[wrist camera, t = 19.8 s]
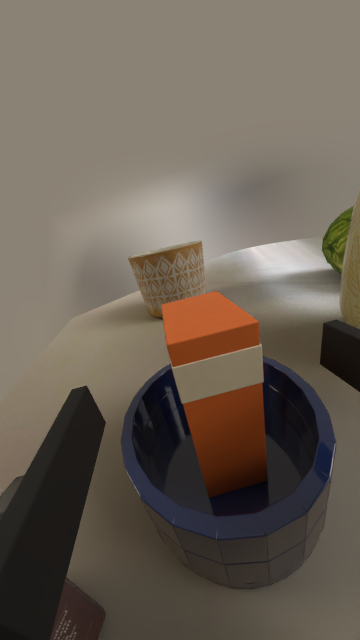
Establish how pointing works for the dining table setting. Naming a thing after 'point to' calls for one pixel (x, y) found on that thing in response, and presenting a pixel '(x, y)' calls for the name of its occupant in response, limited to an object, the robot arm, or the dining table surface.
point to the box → (77, 615)
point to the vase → (351, 271)
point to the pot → (242, 504)
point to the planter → (169, 274)
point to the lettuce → (337, 240)
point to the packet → (219, 387)
